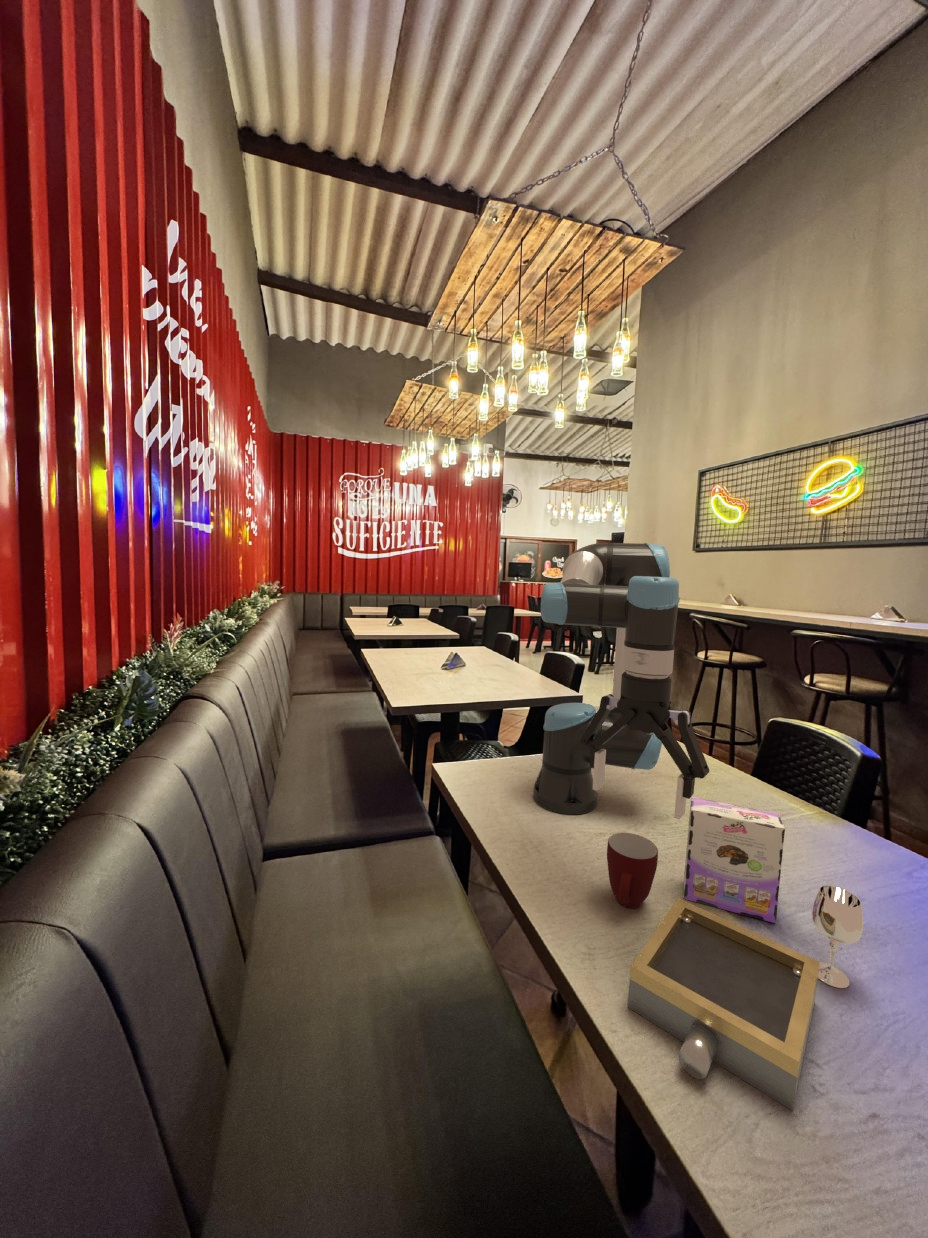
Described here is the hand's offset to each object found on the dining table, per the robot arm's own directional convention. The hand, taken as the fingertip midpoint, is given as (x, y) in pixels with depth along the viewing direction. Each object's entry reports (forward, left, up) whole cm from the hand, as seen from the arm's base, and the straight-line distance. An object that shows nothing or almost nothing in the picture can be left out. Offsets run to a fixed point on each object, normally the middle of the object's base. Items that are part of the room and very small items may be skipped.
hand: (636, 801), depth 81 cm
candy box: (+12, +13, -19) cm, 26 cm away
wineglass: (+27, +6, -19) cm, 33 cm away
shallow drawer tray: (+17, -12, -18) cm, 28 cm away
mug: (0, 0, -19) cm, 19 cm away
